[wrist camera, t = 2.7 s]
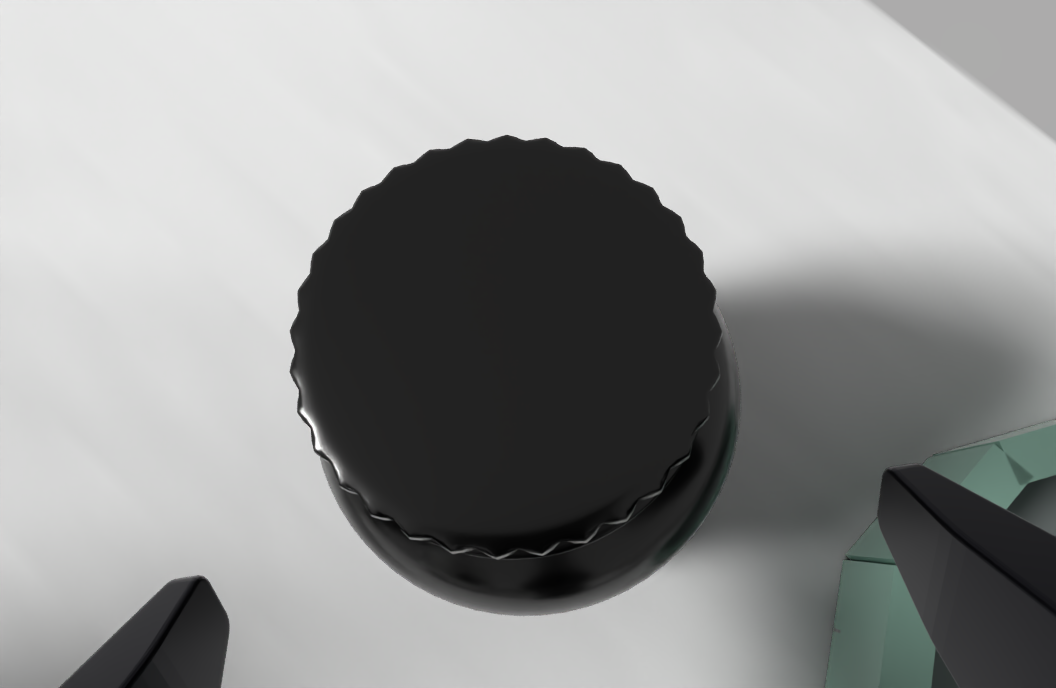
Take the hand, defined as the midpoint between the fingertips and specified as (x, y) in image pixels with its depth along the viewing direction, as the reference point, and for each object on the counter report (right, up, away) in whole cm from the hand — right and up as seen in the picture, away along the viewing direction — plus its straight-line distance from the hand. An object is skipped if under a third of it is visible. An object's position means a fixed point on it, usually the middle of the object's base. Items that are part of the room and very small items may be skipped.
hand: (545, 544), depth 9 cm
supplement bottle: (0, 0, +10) cm, 10 cm away
